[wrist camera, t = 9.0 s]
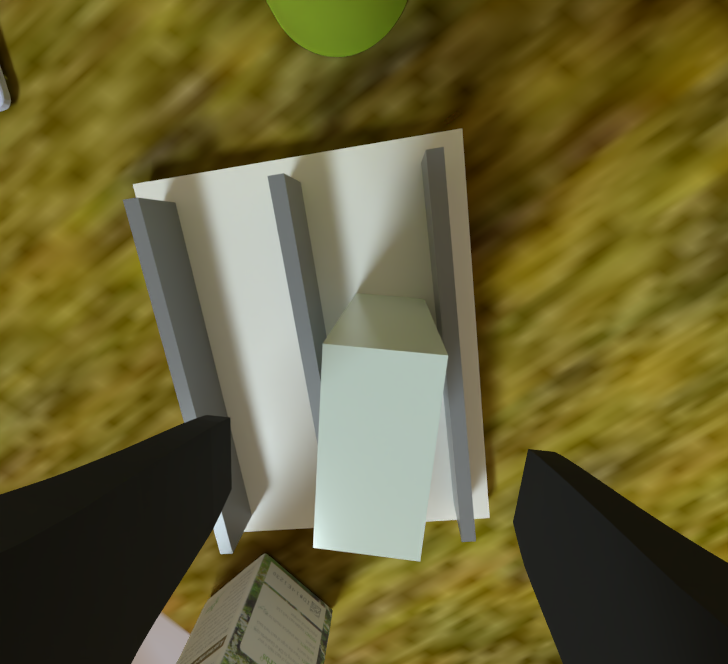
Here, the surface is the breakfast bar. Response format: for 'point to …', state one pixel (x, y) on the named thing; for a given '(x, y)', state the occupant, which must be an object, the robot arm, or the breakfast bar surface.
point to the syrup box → (260, 621)
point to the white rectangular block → (378, 427)
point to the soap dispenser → (337, 23)
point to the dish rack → (310, 307)
